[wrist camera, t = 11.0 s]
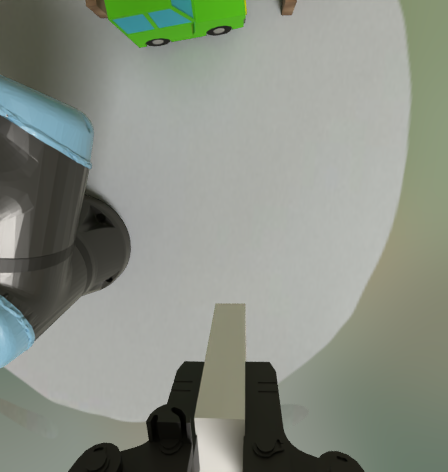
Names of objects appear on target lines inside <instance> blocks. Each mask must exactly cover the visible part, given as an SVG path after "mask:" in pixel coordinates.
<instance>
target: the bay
mask: <svg viewBox="0 0 448 472" xmlns="http://www.w3.org/2000/svg"><path fill="white" fill-rule="evenodd" d="M296 2H297V0H282V15H292V13H293V10H294V7H295V5H296ZM86 6H87V7H88V8H89V9H90V10H92V11H93V12H94V13H95V14H96V15H97V16H99V17H100V18H108V16H107V11H106V6H105V2H104V0H86Z"/></svg>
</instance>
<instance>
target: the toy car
mask: <svg viewBox="0 0 448 472" xmlns="http://www.w3.org/2000/svg"><path fill="white" fill-rule="evenodd" d="M104 2H105V6H106V11H107V16H108V20H109V21H110V22H112V23H113V24H114V25H115V26H116V27H117V28H118V29H119V30H120V31H122V32H123V33H124V34H125V35H126V36H127V37H128V38H129V39H131V40H132V41H133V42H134V43H135V44H136V45H137V46H138V47H139V48H141V47H146V46H147V45H149V46H161V45H165V44H168V43H169V42H170V40H171V42H174V41H179V40H185V39H191V38H196V37H202V36H206V35H207V34H208V35H221V34H225V33H227V32H229V31H230V30H231V29H236V28H241V27H243V24H244V23H245V15H247V9H246V0H104ZM206 33H207V34H206Z"/></svg>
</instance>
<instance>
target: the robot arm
mask: <svg viewBox="0 0 448 472" xmlns="http://www.w3.org/2000/svg"><path fill="white" fill-rule="evenodd" d="M93 137H94V130H93V126H92V123H91V122H90V120H89V119H88V117H87V116H86V115H85V114H84V113H82V112H81V111H79V110H77V109H75V108H73V107H71V106H69V105H67V104H65V103H63V102H61V101H58V100H56V99H54V98H52V97H50V96H47V95H45V94H43V93H41V92H39V91H36V90H34V89H32V88H29V87H27V86H25V85H23V84H20V83H18V82H16V81H14V80H12V79H9V78H7V77H5V76H2V75H0V368H2V367H4V366H5V365H7V364H8V363H10V362H11V361H12V360H14V359H15V358H16V357H17V356H19V355H20V354H21V353H23V352H24V351H26V350H28V349H29V348H30V347H31V346H32V344H33V343H34V341H35V340H36V339H37V338H38V337H39V336H40V335H41V334H42V333H44V332H45V331H46V330H47V329H48V328H49V327H50V326H51V325H52V324H53V323H54V322H55V321H56V320H57V319H58V318H59V317H60V316H61V315H62V314H63V313H64V312H65V311H66V310H68V309H69V308H70V307H71V306H72V305H73V304H74V303H75V302H76V301H77V300H78V299H79V298H80V297H81V296H84V295H87V294H90V293H93V292H95V291H98V290H101V289H103V288H105V287H107V286H109V285H110V284H111V283H113V282H114V281H115V280H116V279H117V278H118V277H119V276H120V275H121V273H122V272H123V271H124V270H125V268H126V266H127V264H128V261H129V258H130V252H131V245H130V238H129V234H128V231H127V229H126V227H125V225H124V223H123V221H122V220H121V218H120V217H119V216H118V215H117V213H116V212H115V211H114V210H113V209H112V208H110V207H109V206H108V205H106V204H105V203H103V202H102V201H100V200H98V199H96V198H93V197H91V196H87V195H84V193H85V188H86V183H87V178H88V173H89V169H91V168H92V163H91V162H90V159H91V152H92V145H93ZM146 424H147V430H148V437H149V441H147V442H146V443H144V444H143V445H140V446H137V447H135V448H131V449H128V450H124V451H121V452H120V451H119V449H118V447H117V446H115V445H114V444H112V443H101V444H98V445H94V446H93V447H91V448H89V449H88V450H86V451H85V452H84V453H83V454H82V455H81V456H80V457H79V458H78V459H77V461H76V462H75V463H74V465H73V466H72V467H71V469H70V470H69V471H68V472H364V470H363V469H362V468H361V466H360V465H359V464H358V463H357V461H355V460H354V459H353V458H351V457H350V456H349V455H347V454H344V453H341V452H338V451H329V452H326V453H324V454H322V455H321V456H320V457H319V458H317V457H314V456H312V455H309V454H306V453H304V452H302V451H300V450H298V449H297V448H296V447H294V446H293V445H292V444H291V443H290V441H289V440H288V439H287V437H286V435H285V433H284V429H283V422H282V415H281V407H280V400H279V393H278V385H277V376H276V371H275V370H274V368H273V367H272V365H271V364H270V362H246V320H245V304H215V310H214V315H213V320H212V326H211V331H210V336H209V342H208V347H207V352H206V358H205V362H190V361H185V362H184V363H183V364H182V365H181V366H180V368H179V369H178V370H177V373H176V376H175V379H174V383H173V386H172V389H171V392H170V396H169V399H168V402H167V404H165V405H163V406H161V407H159V408H157V409H156V410H154V411H153V412H152V413H151V414H150V416H149V417H148V419H147V421H146Z"/></svg>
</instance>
